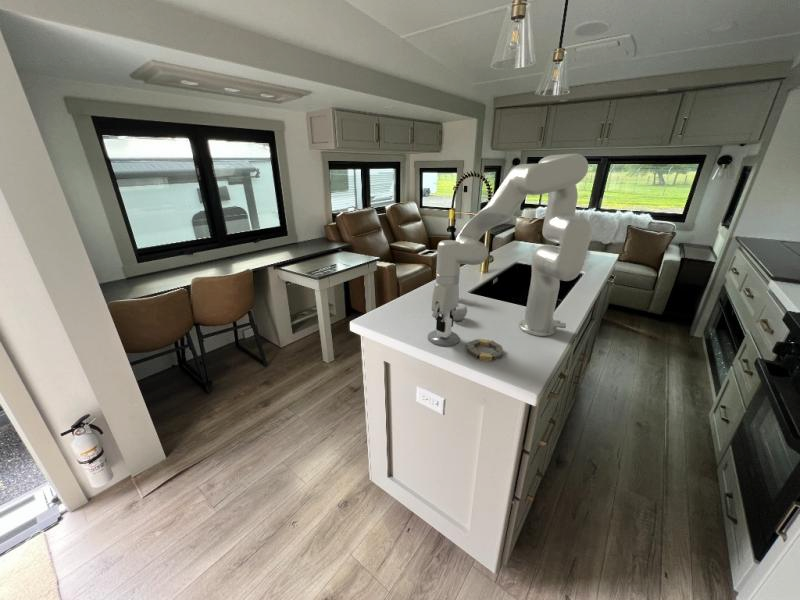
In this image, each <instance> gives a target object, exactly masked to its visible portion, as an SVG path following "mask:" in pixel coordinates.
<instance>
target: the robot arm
mask: <svg viewBox="0 0 800 600" xmlns="http://www.w3.org/2000/svg"><path fill="white" fill-rule="evenodd" d="M588 170H589V163H588V160H587V158H586V157H585V156H584V155H583V154H580V153H563V154H562V153H561V154H552V155H547V156H544V157H543V158H541V159H540V160H539V161H538V163H522V164H517V165H515V166H514V167H512V168H511V170H509V172H508V173H507V175H506V176H505V178H504V179H503V180H502V182H501V184H500V185H499V187H498V188H497V190H496V191H495V193H494V194H493V195H492V197H491V199H489V201H488V202H487V204H486V205H485V206H484V207H483V208H482V209H480V210H479V211H478V212H477V213H476V214H475V215H474V216H473V217H472V218H470V219H469V220H468V221H467V223H466V224H465V225H464V226H463V228H462V229H461V230H460V232H459V234H458V235H457V236H456V237H455V240H454V239H453V240H452V239H448V240H447V239H446V240H445V239H444V240H441V241H439V242H438V243H437V250H436V254H437V255H436V271H435V272H436V273H435V283H434V287H433V293H432V298H431V299H432V300H431V311H432V314H431V316H432V317H433V318H434V319H435V321H436V324H435V325H436V327H435V330H438V331H441V332H445V321H444V319H445V314H446V313H447V312H449V311H450V316H449V318H451V319H452V326H451V328H453V327H454V320H453V316H454V314H455V313H454V312H455V310H456V307H457V306H458V303H459V299H460V297H459V295H460V286H459V284H460V275H461V274H460V273H461V265H470V266H478V265H481V264H483V263H484V262H486V260H487V258H488V257H489V249H488V247H487V245H485V244H484V243H483V242H481V241H480V239H481V238H482V237H483V236H484V235H485V233H486V232H488V231H489V230H491V229H492V228H494V227H497V226H500V225H503V224H505V223H507V222H509V221H510V220H511V219H512V217H513V216H514V214H515V213H516V212H517V211H518V209H519V207H520V206H521V204H522V203H523V202H524V200H525V199H526V197H528V196H540V195H546V194H547V197H548V199H547V205H546V210H545V215H544V219H543V225H542V236H543V238H544V239H546V240H547V241H550V242H552V243H555V244H557V245H558V244H559V246H556V245H552V244H544V245H540V246H538V247H537V248H536V249H535V250H534V251H533V254H532V256H531V277H530V285H529V290H528V296H527V302H526V306H525V307H526V309H525V313H524V318H523V319H522V320H520V321H519V324H518V327H519V329H520V330H521V331H523V332H524V333H525V334H526V333H527V334H529V335H532V336H536V337H550V336H552V335H554V334H555V333H556V329H557V328H559V329H566V327H567V323H566V322H561V320H556V319H555V320H554V315H555V309H556V306H557V305H556V304H557V301H558V300H557V299H558V295H559V291H560V283H561V281H564V282H570V281H572V280H575V279H576V278H578V276H579V275H580V274H581V272H582V271H583V267H584V266H585V265H584V264H585V261H586V257H587V254H588V249H589V246H590V243H591V239H592V230H593V229H592V225H591V223H590V221H589V220H588V219H587V218H585V217H583V216H580V215H576V209H577V204H578V189H577V184H579V183H580V182H582V180H584V178H585V177H586V176H587V174H588ZM440 314H442V317H441V315H440Z"/></svg>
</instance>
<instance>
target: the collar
mask: <svg viewBox="0 0 800 600" xmlns="http://www.w3.org/2000/svg"><path fill="white" fill-rule="evenodd" d="M480 346H481V347H488V348H491V349H492V350H494V351H493V352H490V353H487V352H481V351H479V350H477V349H475V348H478V347H480ZM467 353H468V355H470V356H471V357H473V358H475V359H476V360H478V359H479V360H480V361H485V362H486V361H487V362H495V361H497V360H499V359H502V357H503V356H504V350H503V346H502V345H501V344H499V343H498V342H495V341H494V340H490V339H483V338H482V339H481V338H478V339H477V338H476V339H474V340H470V341H469V342H468V343H467Z"/></svg>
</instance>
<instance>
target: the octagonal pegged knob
mask: <svg viewBox="0 0 800 600" xmlns="http://www.w3.org/2000/svg"><path fill="white" fill-rule="evenodd" d="M454 313H455V314H454V316H453V322H460V321H462V320H464V318H465V317H466V316H467V313H468V308H467V305H465V304H464V303H460V302H458V306H457V307H456V310H455V312H454Z"/></svg>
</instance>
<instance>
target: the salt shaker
mask: <svg viewBox="0 0 800 600" xmlns="http://www.w3.org/2000/svg"><path fill="white" fill-rule="evenodd" d="M439 316H441V317H442V314H440V315H439ZM449 316H450V311H449V312H447V313H446V314H445V319H444V321H445V332H441V331H438V330H437V335H438V336H441V337H445V338H447V337H448V336H449V335H450V334H451V331H452V327H451V326H452V319H451V318H449Z"/></svg>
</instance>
